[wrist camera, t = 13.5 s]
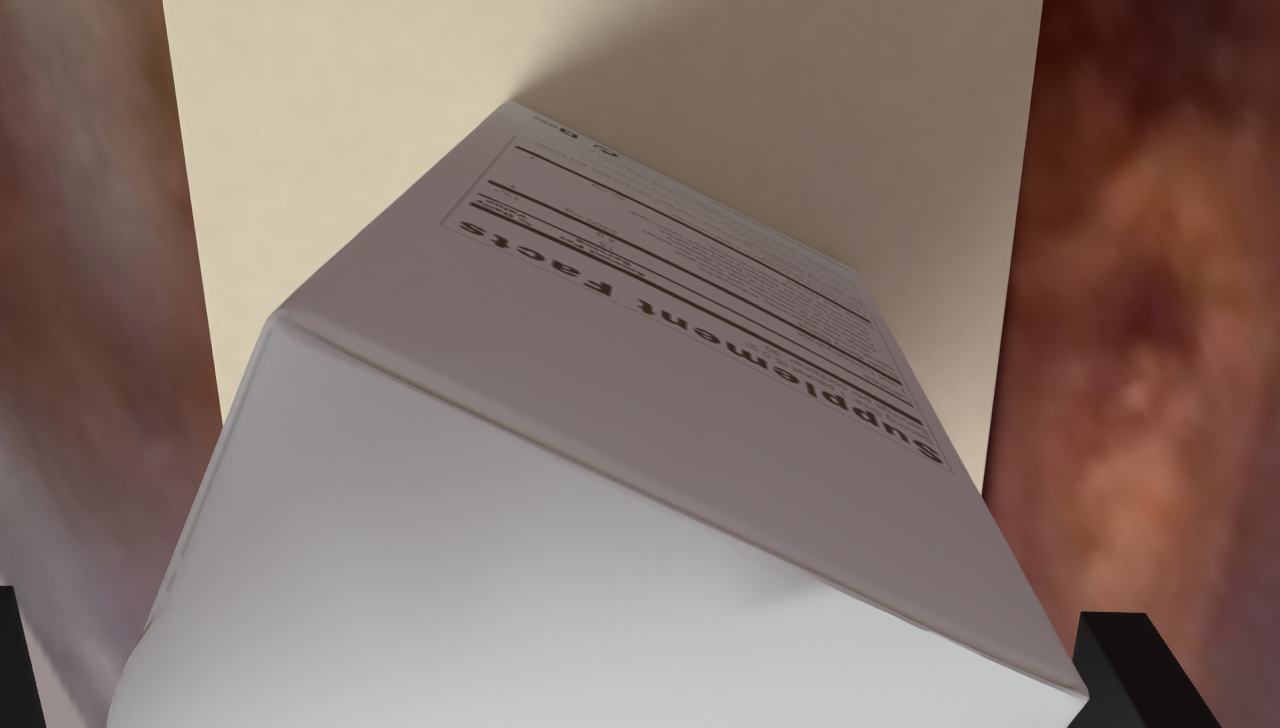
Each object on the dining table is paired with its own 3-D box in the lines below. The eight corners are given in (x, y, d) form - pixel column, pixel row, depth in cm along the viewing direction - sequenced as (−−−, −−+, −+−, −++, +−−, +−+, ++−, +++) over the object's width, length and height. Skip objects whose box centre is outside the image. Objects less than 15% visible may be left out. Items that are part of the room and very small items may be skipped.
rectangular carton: (686, 586, 28) (691, 1250, 14) (350, 433, 27) (-21, 989, 13) (876, 270, 25) (1132, 711, 11) (506, 82, 23) (247, 300, 10)
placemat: (1054, -119, 22) (1058, -119, 22) (950, 717, 29) (953, 725, 29) (151, -119, 23) (145, -120, 22) (266, 700, 30) (262, 708, 29)
